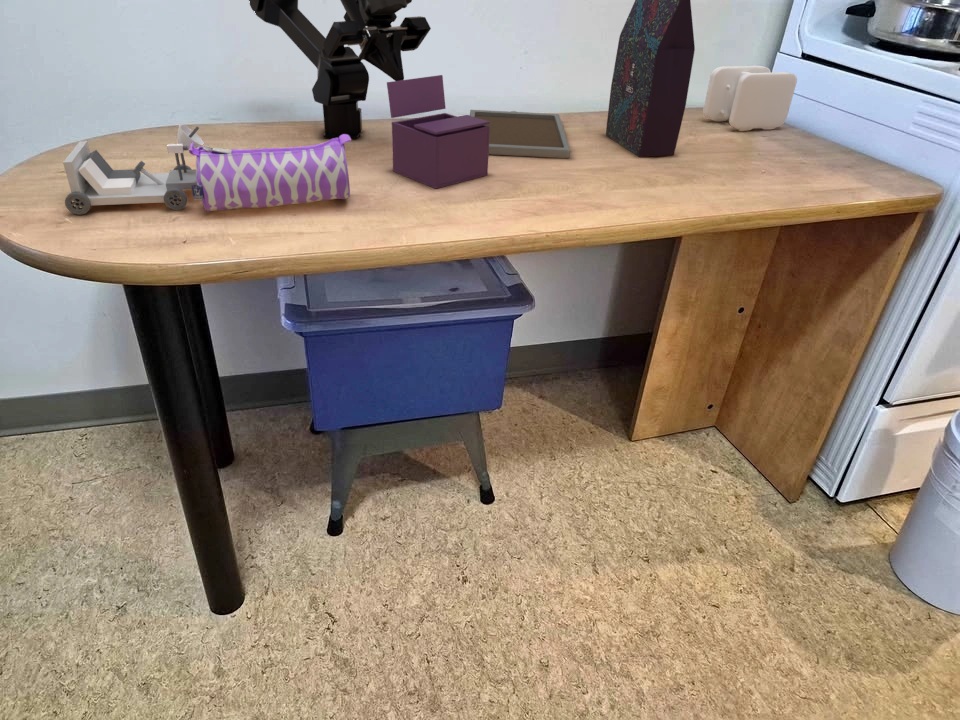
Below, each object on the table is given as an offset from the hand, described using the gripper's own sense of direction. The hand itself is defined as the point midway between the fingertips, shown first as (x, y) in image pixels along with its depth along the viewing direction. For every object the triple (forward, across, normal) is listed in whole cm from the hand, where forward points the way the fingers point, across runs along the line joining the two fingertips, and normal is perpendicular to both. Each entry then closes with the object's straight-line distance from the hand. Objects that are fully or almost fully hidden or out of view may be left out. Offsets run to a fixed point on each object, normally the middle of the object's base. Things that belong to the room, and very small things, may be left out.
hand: (401, 80), depth 114 cm
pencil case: (+14, -28, +5) cm, 32 cm away
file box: (+16, 0, +2) cm, 16 cm away
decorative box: (+24, +43, -5) cm, 50 cm away
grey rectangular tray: (+10, +28, +9) cm, 31 cm away
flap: (+4, 0, -2) cm, 5 cm away
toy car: (+5, -42, +14) cm, 45 cm away
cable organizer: (+26, +77, -8) cm, 82 cm away
